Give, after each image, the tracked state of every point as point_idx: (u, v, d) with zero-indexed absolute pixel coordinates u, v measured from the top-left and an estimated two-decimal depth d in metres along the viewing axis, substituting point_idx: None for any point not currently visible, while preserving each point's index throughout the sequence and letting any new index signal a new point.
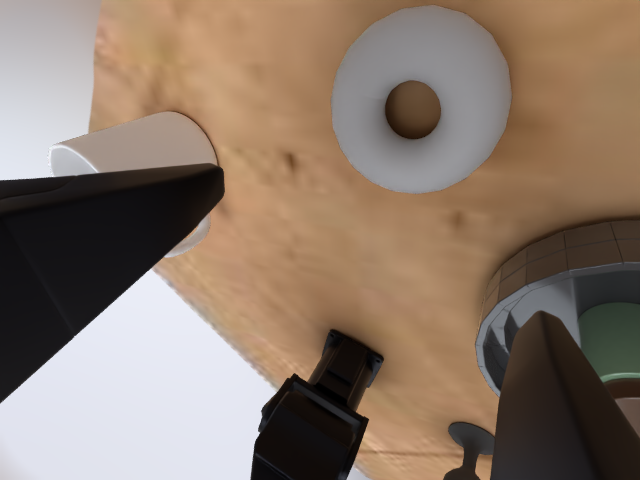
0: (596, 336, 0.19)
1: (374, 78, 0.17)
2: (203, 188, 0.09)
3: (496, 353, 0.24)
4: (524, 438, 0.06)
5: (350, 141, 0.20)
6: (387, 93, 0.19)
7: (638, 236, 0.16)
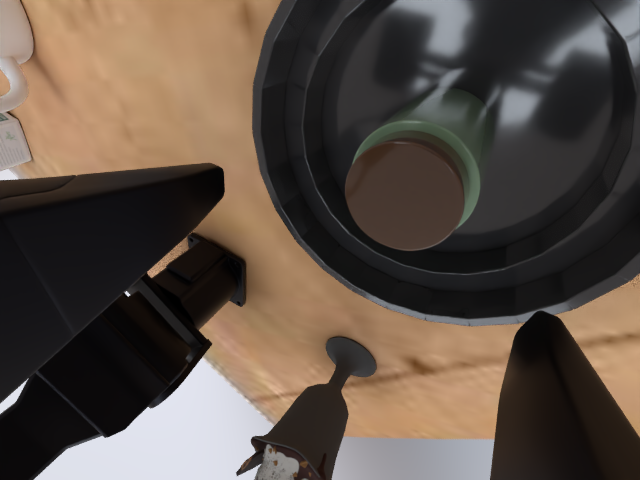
0: None
1: None
2: (203, 188, 0.09)
3: (311, 202, 0.19)
4: (524, 438, 0.06)
5: None
6: None
7: None
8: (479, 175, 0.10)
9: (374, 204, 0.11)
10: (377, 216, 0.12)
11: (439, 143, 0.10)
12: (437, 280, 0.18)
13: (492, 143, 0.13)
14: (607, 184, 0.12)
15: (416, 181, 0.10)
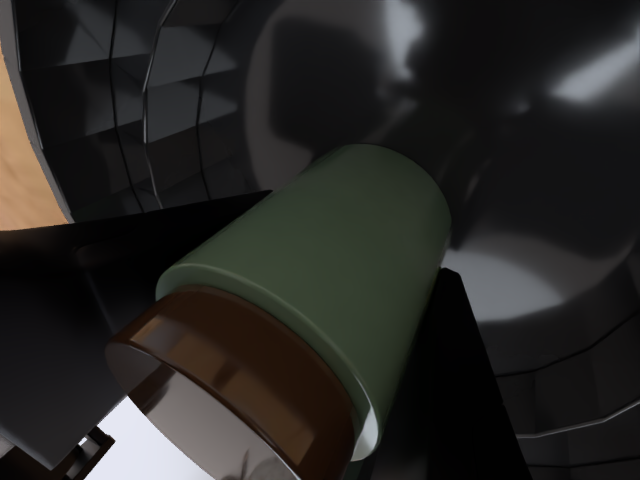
0: None
1: None
2: None
3: None
4: (408, 374, 0.06)
5: None
6: None
7: None
8: (376, 400, 0.04)
9: (169, 424, 0.05)
10: (184, 441, 0.05)
11: (264, 343, 0.04)
12: None
13: (441, 252, 0.07)
14: None
15: (214, 430, 0.04)
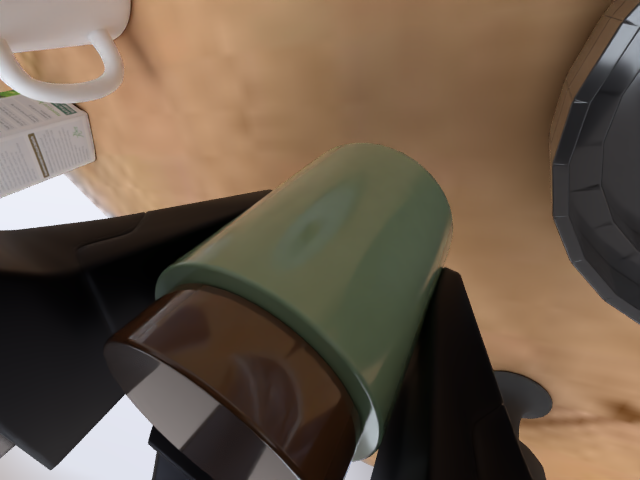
0: None
1: None
2: None
3: (579, 208, 0.13)
4: (409, 374, 0.06)
5: None
6: None
7: None
8: (378, 400, 0.04)
9: (169, 425, 0.05)
10: (184, 443, 0.05)
11: (265, 342, 0.04)
12: None
13: (442, 251, 0.07)
14: None
15: (214, 430, 0.04)
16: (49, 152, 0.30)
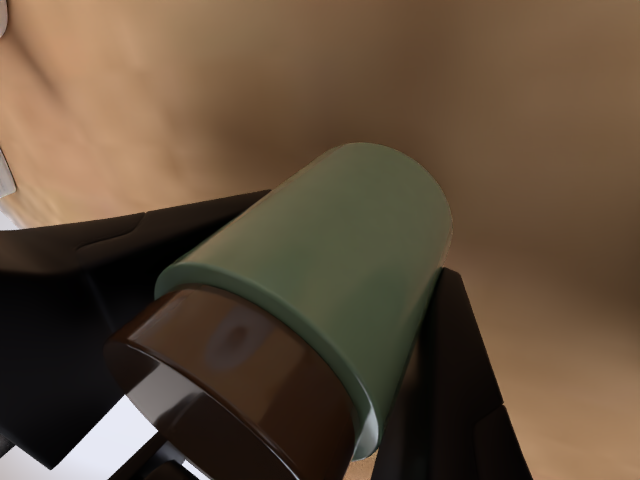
0: None
1: None
2: None
3: None
4: (408, 374, 0.06)
5: None
6: None
7: None
8: (377, 400, 0.04)
9: (168, 425, 0.05)
10: (183, 442, 0.05)
11: (264, 342, 0.04)
12: None
13: (441, 251, 0.07)
14: None
15: (213, 430, 0.04)
16: None
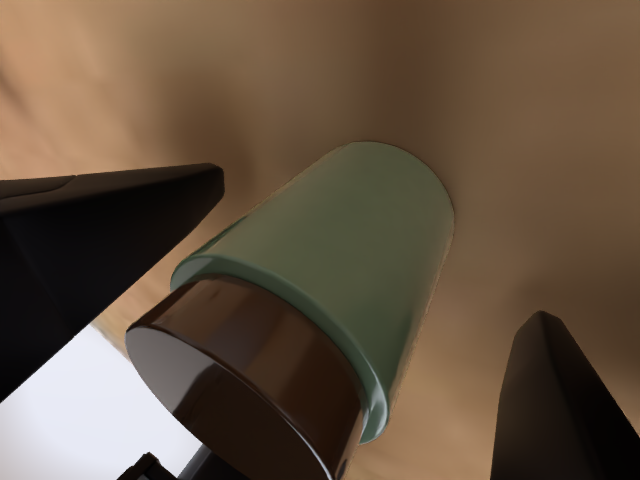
0: None
1: None
2: (203, 188, 0.09)
3: None
4: (524, 438, 0.06)
5: None
6: None
7: None
8: (385, 382, 0.05)
9: (185, 408, 0.06)
10: (199, 425, 0.06)
11: (280, 326, 0.04)
12: None
13: (444, 246, 0.07)
14: None
15: (232, 409, 0.04)
16: None
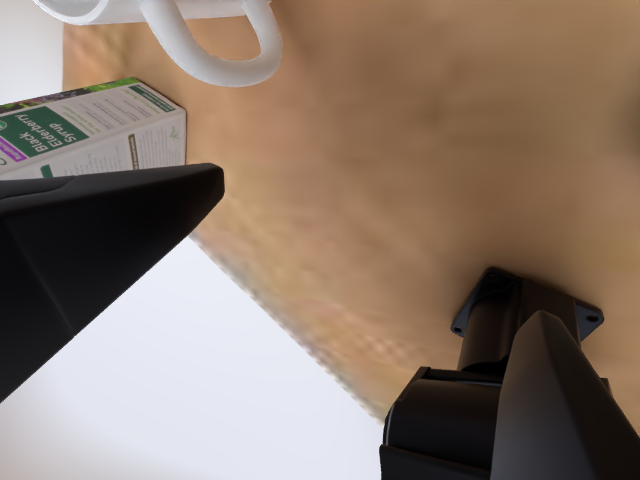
0: None
1: None
2: (203, 188, 0.09)
3: None
4: (524, 438, 0.06)
5: None
6: None
7: None
8: None
9: None
10: None
11: None
12: None
13: None
14: None
15: None
16: (145, 157, 0.25)
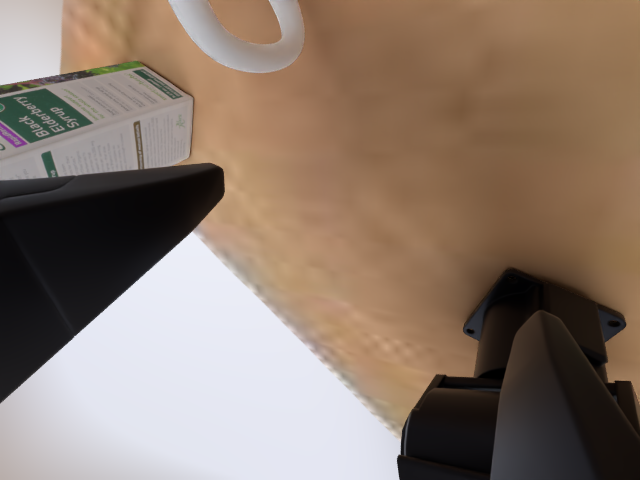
0: None
1: None
2: (203, 188, 0.09)
3: None
4: (524, 438, 0.06)
5: None
6: None
7: None
8: None
9: None
10: None
11: None
12: None
13: None
14: None
15: None
16: (150, 146, 0.24)
